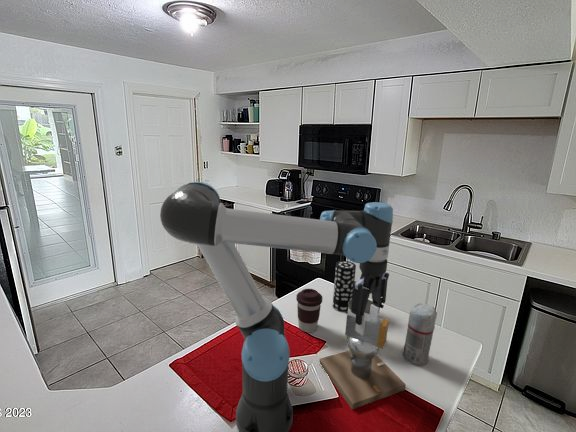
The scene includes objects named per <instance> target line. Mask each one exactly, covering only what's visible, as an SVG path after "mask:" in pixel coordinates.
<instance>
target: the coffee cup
mask: <svg viewBox="0 0 576 432" xmlns="http://www.w3.org/2000/svg"><path fill="white" fill-rule="evenodd" d="M295 298H296V299H295V300H296V302H297V307H296V308H297V320H298V325H297V326H298V328H299V329H300V330H301V331H302V332H305V333H312V332H314V331H316V330H317V328H318V322H319V319H320V313H321V305H322V303H323V295H322V294H321V293H320V292H319V291H318V290H316V289H314V288H304V289H302V290H301V291H299V292H298V293H296V297H295Z"/></svg>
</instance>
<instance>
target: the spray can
mask: <svg viewBox="0 0 576 432" xmlns="http://www.w3.org/2000/svg"><path fill="white" fill-rule="evenodd" d="M437 316H438V312H437V310H436V308H435V307H434V306H431V305H429V304H426V303H422V302H418V303H415V304H414V305H413V306H412V307H411V308H410V312H409V315H408V322H407V329H406V334H405V341H404V346H403V351H402V356H403V358H404V359H405V360H406V362H408V363H409V364H411V365H414V366H418V367H419V366H425V365H427V364H428V362H429V355H430V351H431V345H432V340H433V335H434V330H435V327H436V326H435V325H436V320H437Z"/></svg>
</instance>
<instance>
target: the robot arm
mask: <svg viewBox="0 0 576 432" xmlns="http://www.w3.org/2000/svg"><path fill="white" fill-rule="evenodd" d="M393 218H394V209H393V207H392V206H391V205H390V204H388V203H385V202H376V201H374V202H373V201H372V202H367V203H365V204H364V208H363V210H336V209H333V210H324V211H322V212H321V214H320V217H319V219H316V218H309V217H300V216H294V215H293V216H292V215H283V214H275V213H269V212H260V211H258V212H257V211H251V210H244V209H235V208H227V207H226V206H225V205H224V203H222V202H221V197H220V195H219V193H218V191H217V190H216V189H215V187H213V186H212V185H211V184H208V183H205V182H203V181H192V182H188V183H186V184H183V185H181V186H180V187H178V188H177V190H175V191H174V192H172V193H170V195H168V196H167V197H166V199H165V200H164V202H163V203H162V206H161V208H160V222H161V225H162V227H163V228H164V230H165V231H166V232H167V233H168V234H169V235H170V236H171V237H173V238H174V239H176V240H179V241H180V242H184V243H189V244H192V245H196V246H198V248H199V250H200V252H201V254H202V256H203V258H204V259H205V261H206V263H207V264H208V266H209V268H210V270H211V271H212V273H213V275H214V276H215V277H214V278H215V279H216V280H217V283H218V284H219V285H220V287H221V289H222V290H223V293H224V294H225V296H226V298H227V299H228V301H229V302H230V305H231V306H232V308H233V310H234V311H235V314H236V317H235V325H236V326H237V328H238V330H239V331H240V333H241V335H242V336H243V340H244V341H243V346H242V349H241V362H242V363H241V364H242V367H241V369H242V370H241V371H242V379H241V380H242V382H241V383H242V394H241V396H240V398H239V401H238V403H237V406H236V410H235V423H236V424H235V425H236V427H237V431H238V432H289V431H290V430H291V427H292V425H293V419H294V418H293V417H294V409H293V405H292V402H291V400H290V397H289V393H288V386H289V385H288V381H289V361H290V356H291V355H290V347H289V342H288V341H287V339H286V332H285V327H286V326H285V320H284V317H283V315H282V313H281V311H280V310H279V308H278V307H276V306H275V305H274V304H273V303H272V301H271V300H270V299H268V298H264V297H263V294H262V293H261V291H260V290H259V287H258V286H257V284H256V282H255V280H254V278H253V277H252V275H251V273H250V271H249V268H248V267H247V265H246V263H245V261H244V260H243V258H242V256H241V254H240V252H239V250H238V248H237V247H236V244H237V245H247V246H256V247H264V248H271V249H272V248H274V249H285V250H291V251H292V250H293V251H301V252H311V253H319V254H328V255H337V256H344V257H345V258H346V259H347V260H349V262H352V263H354V264H355V263H356V264H358V265H359V266H358V267H359V269H360V271H361V274H360V277H359V280H358V281H356V280H354V282H353V288H354V290H353V298H352V306H351V312H352V313H354V314H355V315H356V320H355V322H356V327H355V331H356V332H358V333H359V334H361V335H364V329H365V319H366V315H365V314H364V312H365V309H366V305H367V302H368V300H369V298H370V294H371V301H372V302H373V304H374V305H373V304H372V305H371V306H370V315H373V316H377V317H380V316H379V315H380V310H381V309H383V308H384V306H385V305H384V304H385V303H386V299H387V289H388V280H389V276H390V273H388V272H387V269H388V257H389V249H390V243H391V234H392V227H393V223H394V222H393Z"/></svg>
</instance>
